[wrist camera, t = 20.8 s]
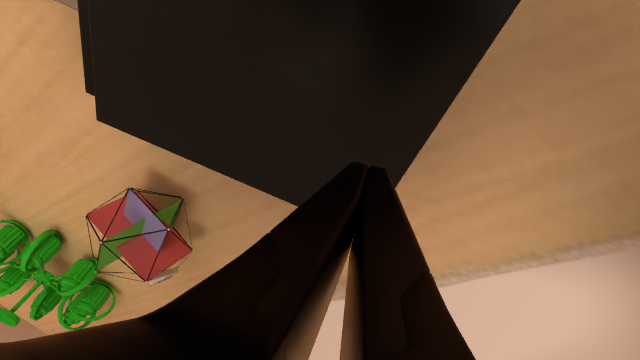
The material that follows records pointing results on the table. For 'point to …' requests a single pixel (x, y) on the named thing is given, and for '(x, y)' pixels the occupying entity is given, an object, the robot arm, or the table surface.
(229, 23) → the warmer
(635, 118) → the table surface
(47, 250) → the chandelier
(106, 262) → the geometric puzzle
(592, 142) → the table surface
